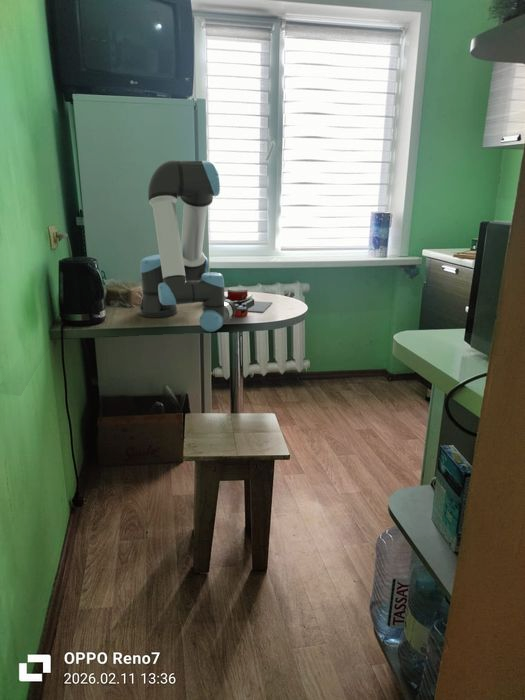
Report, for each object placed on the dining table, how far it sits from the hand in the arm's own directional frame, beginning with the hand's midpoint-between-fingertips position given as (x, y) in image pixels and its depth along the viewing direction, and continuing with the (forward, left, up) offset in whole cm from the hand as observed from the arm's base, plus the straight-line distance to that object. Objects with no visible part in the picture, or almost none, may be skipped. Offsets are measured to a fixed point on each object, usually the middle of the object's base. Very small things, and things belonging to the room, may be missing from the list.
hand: (241, 296), depth 202 cm
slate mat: (0, +9, -7) cm, 11 cm away
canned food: (0, -5, -7) cm, 8 cm away
